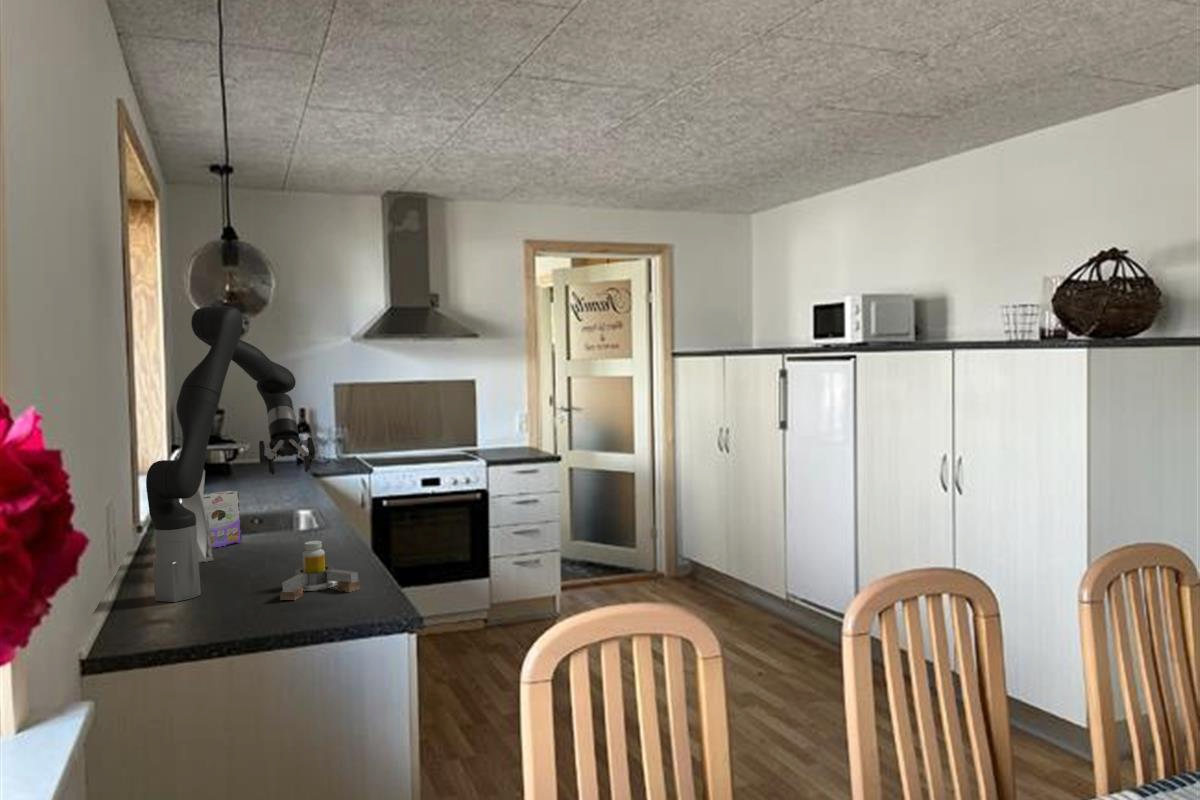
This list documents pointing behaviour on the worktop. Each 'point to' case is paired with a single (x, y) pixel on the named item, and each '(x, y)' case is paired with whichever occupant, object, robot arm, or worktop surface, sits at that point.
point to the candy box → (223, 517)
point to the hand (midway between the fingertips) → (290, 471)
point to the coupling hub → (317, 580)
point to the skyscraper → (200, 523)
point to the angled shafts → (331, 575)
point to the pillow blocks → (340, 587)
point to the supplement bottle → (313, 557)
